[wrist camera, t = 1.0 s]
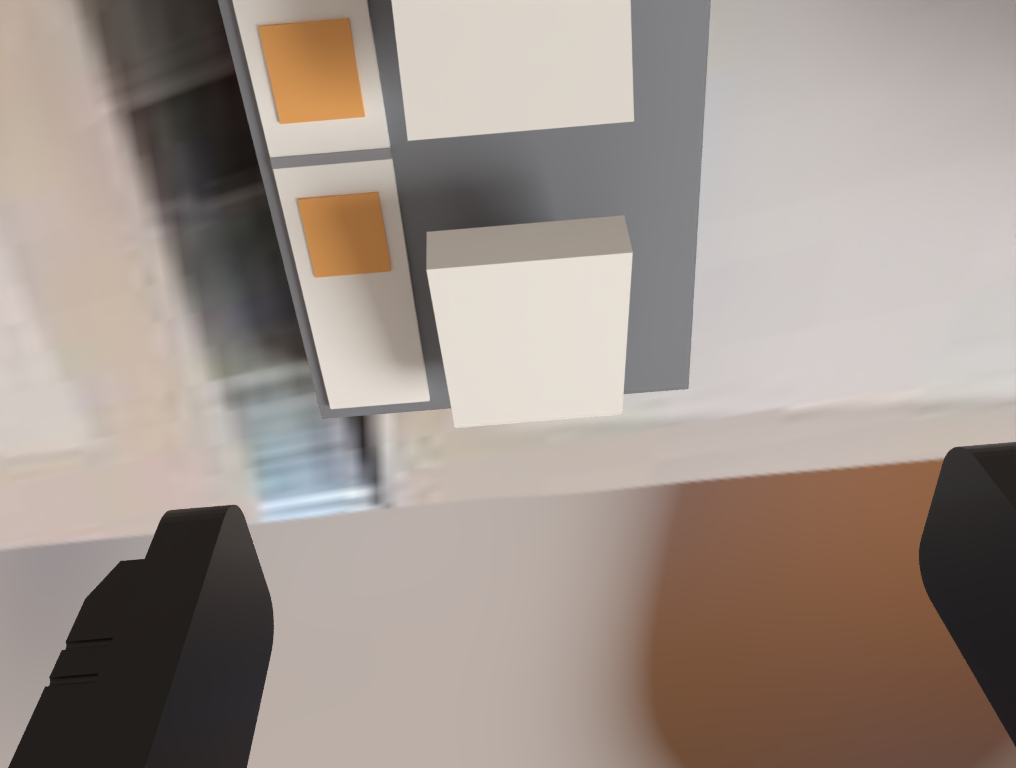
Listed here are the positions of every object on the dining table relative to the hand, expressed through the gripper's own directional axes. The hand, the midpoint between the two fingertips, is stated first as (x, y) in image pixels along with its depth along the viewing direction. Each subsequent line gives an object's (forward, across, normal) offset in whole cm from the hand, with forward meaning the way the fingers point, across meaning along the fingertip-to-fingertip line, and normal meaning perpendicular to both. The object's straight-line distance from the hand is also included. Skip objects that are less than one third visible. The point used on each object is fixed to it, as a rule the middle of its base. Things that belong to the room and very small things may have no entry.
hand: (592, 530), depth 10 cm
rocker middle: (+14, 0, -4) cm, 14 cm away
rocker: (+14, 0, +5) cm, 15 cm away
